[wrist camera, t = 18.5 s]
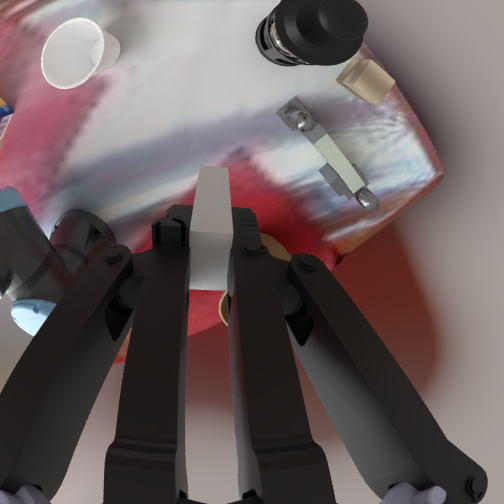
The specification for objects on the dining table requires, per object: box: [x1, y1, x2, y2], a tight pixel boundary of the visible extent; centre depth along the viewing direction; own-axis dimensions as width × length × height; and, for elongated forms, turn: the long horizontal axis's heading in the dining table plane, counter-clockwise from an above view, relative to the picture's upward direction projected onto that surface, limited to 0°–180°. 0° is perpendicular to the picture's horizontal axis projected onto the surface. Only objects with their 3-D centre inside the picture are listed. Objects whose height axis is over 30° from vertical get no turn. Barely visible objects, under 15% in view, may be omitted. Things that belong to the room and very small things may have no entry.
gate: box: [296, 120, 365, 194], centre depth 41 cm, size 13×3×6 cm, turn 43°
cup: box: [41, 17, 120, 89], centre depth 26 cm, size 10×10×11 cm
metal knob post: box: [319, 163, 380, 213], centre depth 44 cm, size 8×6×9 cm
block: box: [336, 59, 395, 105], centre depth 34 cm, size 5×5×7 cm
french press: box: [255, 0, 368, 66], centre depth 23 cm, size 12×9×23 cm
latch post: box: [276, 97, 315, 132], centre depth 37 cm, size 4×4×8 cm
